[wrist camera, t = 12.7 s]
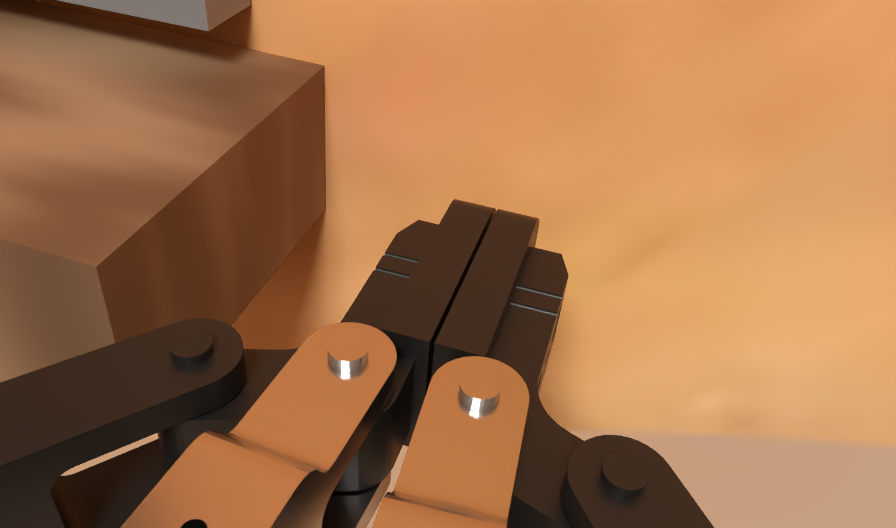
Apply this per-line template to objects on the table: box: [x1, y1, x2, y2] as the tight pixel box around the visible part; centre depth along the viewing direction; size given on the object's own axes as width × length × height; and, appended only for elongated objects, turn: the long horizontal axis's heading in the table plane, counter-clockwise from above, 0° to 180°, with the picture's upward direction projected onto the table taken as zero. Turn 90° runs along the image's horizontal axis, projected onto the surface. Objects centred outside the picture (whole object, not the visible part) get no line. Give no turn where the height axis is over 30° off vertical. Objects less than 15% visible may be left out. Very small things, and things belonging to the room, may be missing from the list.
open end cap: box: [58, 0, 251, 31], centre depth 16 cm, size 10×7×2 cm
